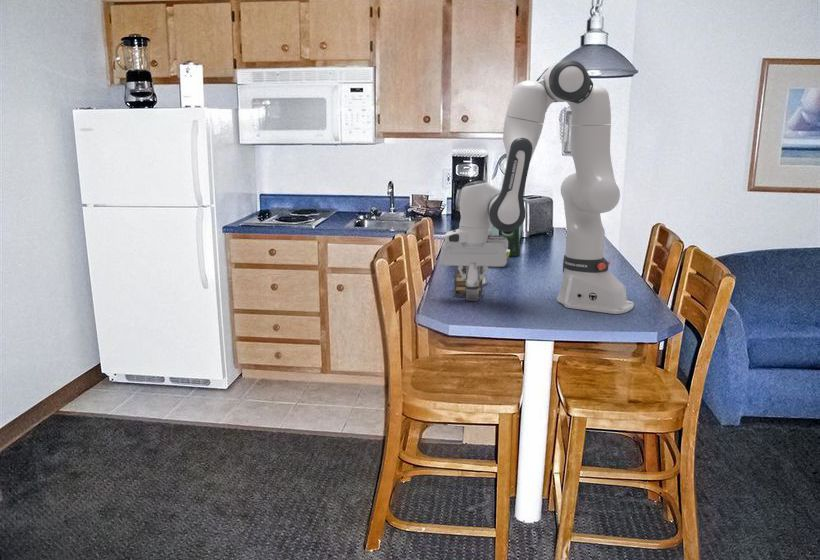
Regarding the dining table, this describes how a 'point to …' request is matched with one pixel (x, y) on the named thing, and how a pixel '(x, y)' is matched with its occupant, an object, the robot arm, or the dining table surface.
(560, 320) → the dining table surface
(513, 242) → the coffee jar
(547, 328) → the dining table surface
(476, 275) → the metal cylinder
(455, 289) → the stand
